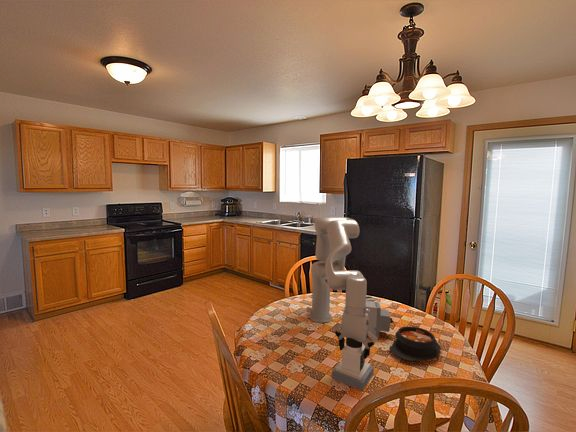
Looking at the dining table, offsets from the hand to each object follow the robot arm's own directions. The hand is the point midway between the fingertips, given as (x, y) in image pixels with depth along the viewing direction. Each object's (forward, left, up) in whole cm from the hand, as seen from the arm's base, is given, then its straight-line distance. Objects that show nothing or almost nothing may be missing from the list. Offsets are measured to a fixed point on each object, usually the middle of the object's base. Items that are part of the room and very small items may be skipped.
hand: (353, 352), depth 114 cm
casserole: (+16, +32, -10) cm, 37 cm away
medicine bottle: (0, 0, -6) cm, 6 cm away
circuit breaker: (-3, +38, -10) cm, 39 cm away
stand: (0, 0, -9) cm, 9 cm away
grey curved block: (-19, +61, -10) cm, 65 cm away
